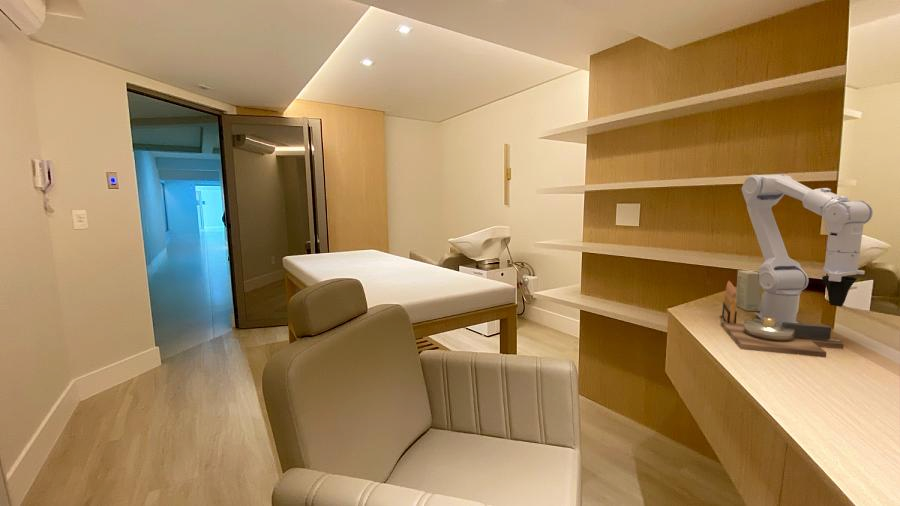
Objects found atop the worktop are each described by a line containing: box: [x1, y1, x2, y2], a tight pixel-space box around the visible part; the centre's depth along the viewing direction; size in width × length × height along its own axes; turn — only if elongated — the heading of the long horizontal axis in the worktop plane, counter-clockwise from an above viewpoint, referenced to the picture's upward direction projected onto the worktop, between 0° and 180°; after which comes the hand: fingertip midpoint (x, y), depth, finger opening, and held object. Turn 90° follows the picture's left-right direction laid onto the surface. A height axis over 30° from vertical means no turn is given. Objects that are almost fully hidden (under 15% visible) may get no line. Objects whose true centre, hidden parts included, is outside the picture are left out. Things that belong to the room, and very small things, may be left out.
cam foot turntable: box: [743, 317, 832, 340], centre depth 97 cm, size 17×10×4 cm, turn 68°
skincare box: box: [736, 269, 763, 312], centre depth 123 cm, size 6×4×12 cm
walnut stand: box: [720, 320, 845, 358], centre depth 97 cm, size 18×22×1 cm
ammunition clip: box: [721, 280, 737, 324], centre depth 111 cm, size 11×2×12 cm, turn 152°
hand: (836, 305), depth 94 cm, fingers closed
